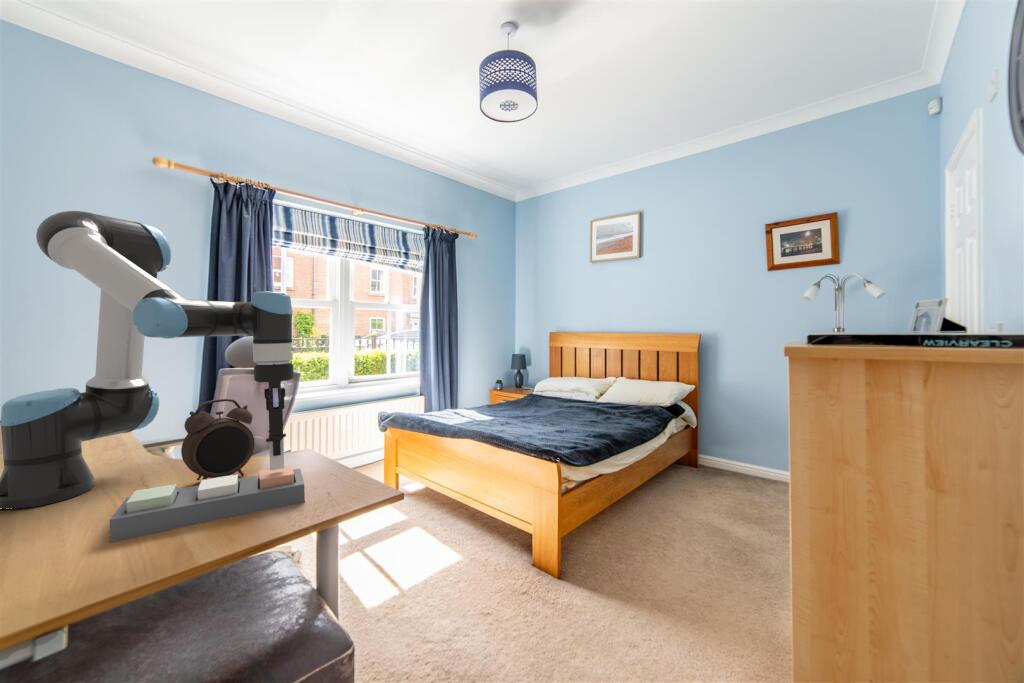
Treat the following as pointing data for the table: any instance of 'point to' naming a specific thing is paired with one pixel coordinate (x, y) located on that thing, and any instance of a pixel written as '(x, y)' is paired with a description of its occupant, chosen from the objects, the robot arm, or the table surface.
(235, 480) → the key offwhite
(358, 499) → the table surface
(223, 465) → the alarm clock
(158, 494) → the key sage
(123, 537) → the keypad
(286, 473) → the key terracotta
